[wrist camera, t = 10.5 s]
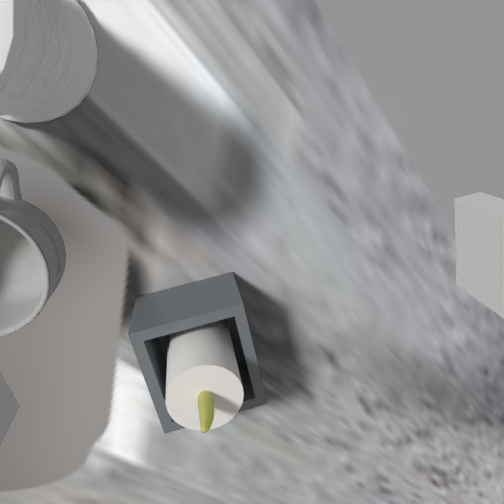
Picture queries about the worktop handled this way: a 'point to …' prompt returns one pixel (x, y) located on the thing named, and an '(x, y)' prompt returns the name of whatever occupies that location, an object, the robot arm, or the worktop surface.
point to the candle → (202, 377)
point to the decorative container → (44, 58)
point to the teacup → (25, 255)
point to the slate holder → (185, 317)
